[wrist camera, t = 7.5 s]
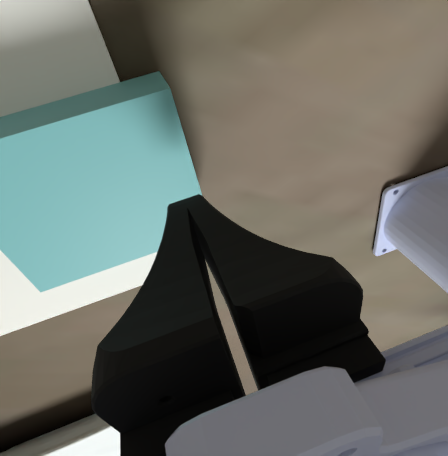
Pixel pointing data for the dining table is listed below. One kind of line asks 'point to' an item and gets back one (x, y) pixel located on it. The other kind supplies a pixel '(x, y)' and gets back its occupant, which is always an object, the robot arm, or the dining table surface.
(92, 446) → the square plate
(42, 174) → the teal slab
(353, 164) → the dining table surface
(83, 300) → the mat
